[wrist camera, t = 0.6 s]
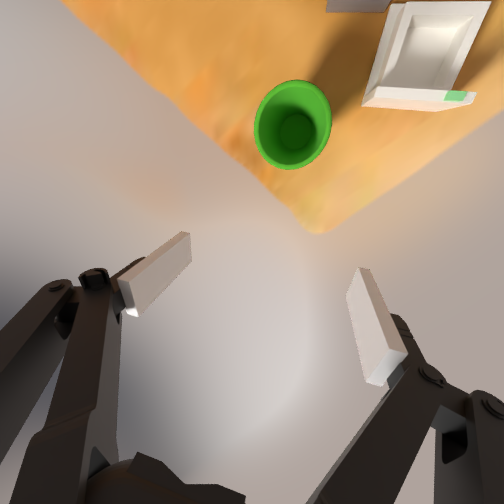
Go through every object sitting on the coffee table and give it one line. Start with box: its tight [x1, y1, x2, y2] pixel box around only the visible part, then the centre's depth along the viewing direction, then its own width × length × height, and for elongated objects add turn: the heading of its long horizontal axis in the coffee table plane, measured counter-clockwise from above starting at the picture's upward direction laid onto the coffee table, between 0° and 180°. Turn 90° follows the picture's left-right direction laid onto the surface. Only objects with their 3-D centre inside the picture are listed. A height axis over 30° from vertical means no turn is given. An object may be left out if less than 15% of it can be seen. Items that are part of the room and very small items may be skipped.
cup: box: [254, 80, 332, 170], centre depth 29 cm, size 9×9×11 cm
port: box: [361, 1, 492, 112], centre depth 23 cm, size 10×10×8 cm
